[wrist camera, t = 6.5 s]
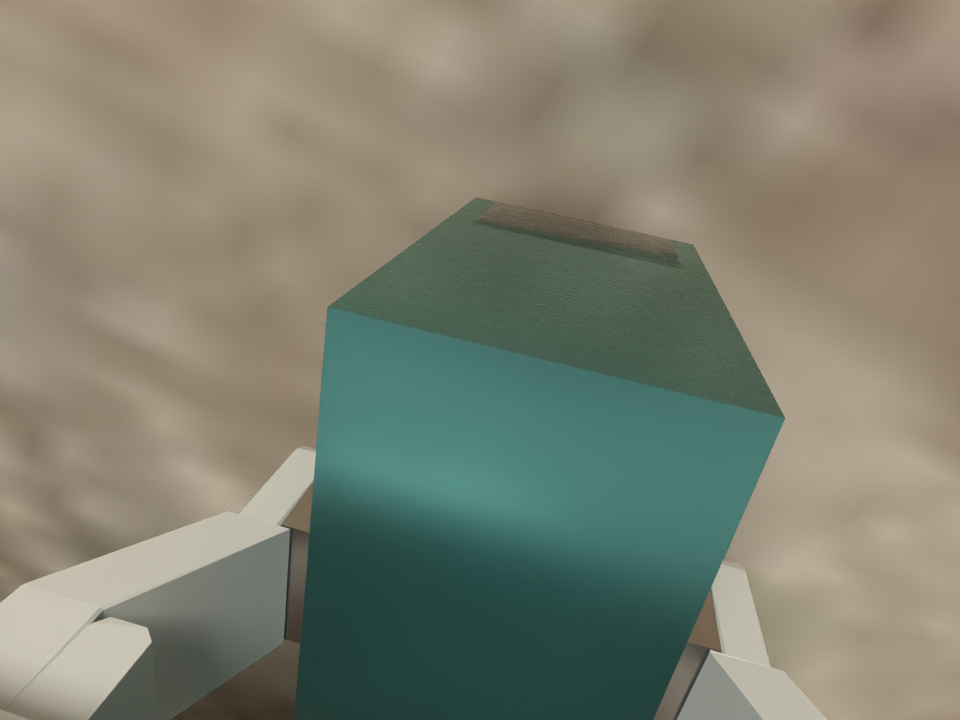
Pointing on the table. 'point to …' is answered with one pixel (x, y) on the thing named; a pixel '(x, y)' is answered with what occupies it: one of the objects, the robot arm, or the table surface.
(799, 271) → the table surface
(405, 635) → the block
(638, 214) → the table surface
